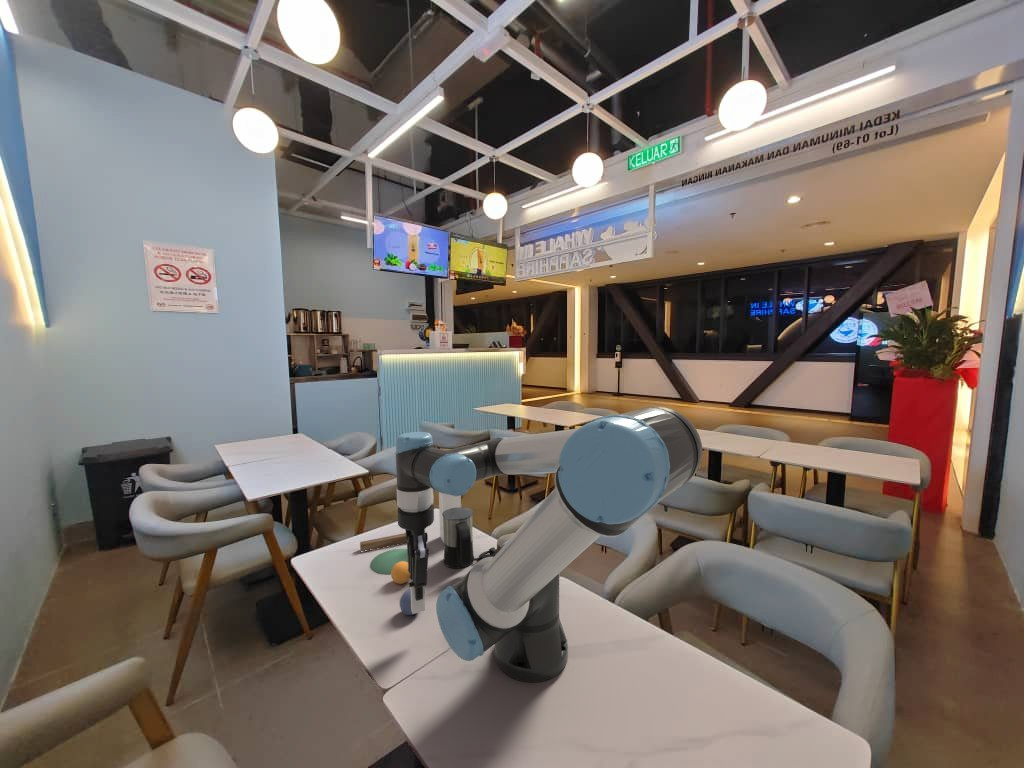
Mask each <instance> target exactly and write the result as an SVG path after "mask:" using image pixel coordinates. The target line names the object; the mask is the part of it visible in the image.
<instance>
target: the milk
mask: <svg viewBox="0 0 1024 768" xmlns="http://www.w3.org/2000/svg"><path fill="white" fill-rule="evenodd" d="M456 507H462V495H461V496H452V495H449V494H445V493H444V494H443V493H441V492H439V491H438V509H439V512H438V513H439V514H438V515H439V538H440V539H441V541H442V543H443V544H444V529H443V516H442V513H443V512H444V511H445V510H447V509H450V508H456Z"/></svg>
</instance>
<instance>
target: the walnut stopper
mask: <svg viewBox="0 0 1024 768" xmlns="http://www.w3.org/2000/svg"><path fill="white" fill-rule="evenodd" d="M401 543H404V544H407V538H406V532H404V533H399V534H394V535H393V534H392V535H388V536H384V537H379V538H373V539H368V540H363V541H359V546H360V547H359V549H360V550H361V551H365V550H370V549H375V550H378V549H377V548H380V549H383V547H385V548H388V547H387V546H389V547H394V546H398V545H397V544H399V545H402V544H401ZM393 545H394V546H393ZM361 551H360V552H361ZM370 551H371V550H370ZM365 552H366V551H365Z"/></svg>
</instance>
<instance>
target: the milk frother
mask: <svg viewBox="0 0 1024 768" xmlns="http://www.w3.org/2000/svg"><path fill="white" fill-rule="evenodd" d="M473 514H474V510H472V509H471V508H468V507H464V506H463V507H462V506H461V507H456V508H450V509H447V510H445V511H444V512H443V513H442V516H443V529H444V543H443V552H444V553H443V561H442V562H443V564H444V565H445V566H446V567H448V568H452V569H461V568H466V567H469V566H470V565H471V564H473V563H474V562H476V561H477V562H479V561H480V560H482V559H483V558H486V557H494V556H495V555H496V554H497V548H495V547H494V546H493V547H490V548H489V549H488V550H487V551H486V550H485V551H483V552H481V553H480V554H479V555H478V557H476V558H475V556H474V544H473V543H474V541H473V539H474V538H473Z"/></svg>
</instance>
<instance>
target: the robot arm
mask: <svg viewBox="0 0 1024 768" xmlns="http://www.w3.org/2000/svg"><path fill="white" fill-rule="evenodd" d="M395 441H396V443H395V452H394V454H395V466H396V467H395V469H396V470H395V473H396V506H397V507H398V508H397V512H396V513H397V525H398V526H399V528H401V529H402V530H405V533H406V538H407V543H406V549H407V554H408V572H409V573H410V579H409V580H410V582H408V586H409V588H410V589H411V611H412V614H414V613H416V614H417V613H421V612H424V611H426V597H425V596H426V595H425V594H426V593H425V587H426V586H428V567H429V566H428V564H429V554H430V549H429V547H427V542H428V532H427V531H426V529H427V528H428V527H430V526H431V525H432V524H433V523H434V521H435V508H434V492H438V493H439V492H441V493H443V494H444V493H445V494H449V495H452V496H461V497H462V496H464V495H465V494H467V493H468V491H469V490H470V489H472V487H473V486H474V484H475V482H479V481H481V480H484V479H488V478H491V477H495V476H509V475H531V474H532V475H533V474H534V475H535V474H554V488H553V490H552V491H551V492H550V493H549V494H548V496H547V497H546V498H545V499H544V500H543V501H542V503H541V504H539V506H538V507H537V508H536V509H535V510H534V511H533V513H531V514H530V516H528V518H527V519H526V520H525V521H524V522H523V524H522V525H521V526H520V527H519V528H517V531H516V532H514V533H515V534H514V535H513V536H512V537H511V538H510V539H509V540H508V541H506V542H505V543H504V544H503V546H502V548H501V550H500V551H499V552H498V553H497V554H496V555H495V556H494V557H486V558H483V559H482V560H478V561H477V562H476V563H475V564H474V565H473V566H472V567H471V569H469V571H468V572H467V573H466V574H465V575H464V577H462V578H461V579H460V580H459V581H457V582H455V583H454V584H452V585H447V586H446V588H445V589H444V590H442V591H441V592H440V593H439V594H438V596H437V599H436V604H435V606H436V607H435V609H436V610H435V611H436V616H437V621H438V624H439V628H440V630H441V633H442V635H443V637H444V639H445V641H446V643H447V644H448V646H449V647H450V649H451V650H452V652H453V653H454V654H456V656H457V657H459V658H460V659H462V660H464V661H466V662H471V661H474V660H475V659H476V658H478V657H481V656H483V655H484V654H485V652H487V651H488V650H489V649H491V647H492V646H494V658H495V662H496V664H497V666H498V667H499V669H500V670H501V671H502V672H503V673H505V675H507V676H508V677H510V678H512V679H515V680H518V681H520V682H525V683H540V682H544V681H548V680H550V679H552V678H554V677H556V676H558V675H560V673H561V672H562V671H563V669H564V668H565V667H566V665H567V662H568V657H569V651H568V650H569V648H568V647H569V646H568V639H567V636H566V634H565V630H564V627H563V625H562V622H561V618H560V573H561V572H562V571H564V569H565V568H567V566H569V565H570V564H571V563H572V562H573V561H574V560H575V559H577V557H579V556H580V555H581V554H582V553H583V552H584V551H586V550H587V548H589V547H590V546H591V545H592V544H593V543H594V542H595V541H597V540H598V539H599V538H600V537H605V538H615V537H619V536H620V535H622V534H624V533H625V532H626V531H627V530H628V529H630V528H631V527H632V526H633V525H634V524H635V523H637V521H639V520H640V519H641V518H642V517H643V516H644V515H645V514H647V513H648V512H649V511H650V510H652V509H653V508H654V507H655V506H657V504H658V503H660V502H661V501H662V500H664V499H665V498H666V497H668V496H669V495H671V494H672V493H674V492H675V491H676V490H678V489H679V488H681V487H682V486H684V485H685V484H687V483H688V482H689V481H690V480H691V479H692V478H694V477H695V474H696V473H697V472H698V469H699V468H700V465H701V463H702V458H703V443H702V439H701V437H700V434H699V432H698V430H697V428H696V426H695V425H694V424H693V423H692V422H691V421H690V420H689V418H688V417H686V416H684V415H683V414H682V413H680V412H679V411H677V410H674V409H671V408H667V407H664V406H648V407H642V408H640V409H636V410H635V409H634V410H631V411H627V412H623V413H620V414H609V415H604V416H601V417H599V418H595V419H593V420H592V421H590V422H588V423H585V424H584V425H581V427H579V428H572V429H565V430H557V431H550V432H543V433H533V434H527V435H520V436H518V435H517V436H512V437H507V436H506V437H505V436H504V437H496V438H491V439H489V440H484V441H481V442H477V443H473V444H467V445H464V446H459V447H455V448H451V449H450V448H449V449H440V448H437V447H435V446H434V441H433V436H432V434H431V433H429V432H428V431H427V432H425V431H410V432H405V433H402V434H400V435H399V436H397V437H396V439H395ZM414 615H415V614H414Z"/></svg>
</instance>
